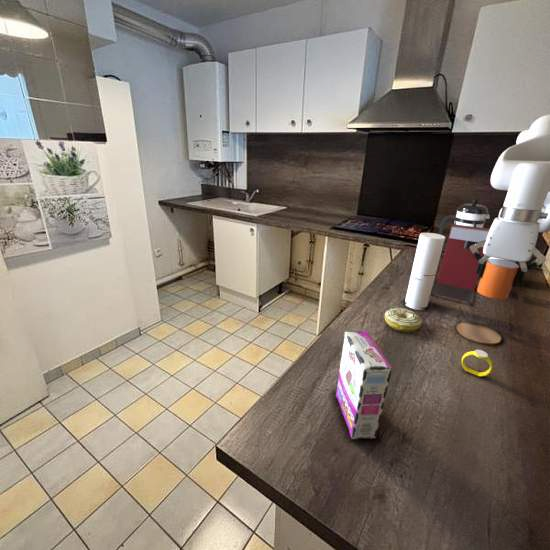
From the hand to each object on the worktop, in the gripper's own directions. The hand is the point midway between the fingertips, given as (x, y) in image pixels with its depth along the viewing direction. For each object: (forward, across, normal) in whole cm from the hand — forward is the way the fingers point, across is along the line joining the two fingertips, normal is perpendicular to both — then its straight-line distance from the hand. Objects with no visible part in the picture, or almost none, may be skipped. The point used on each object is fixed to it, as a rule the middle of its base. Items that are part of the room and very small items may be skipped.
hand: (496, 279), depth 79 cm
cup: (+4, 0, 0) cm, 4 cm away
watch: (+18, 0, +21) cm, 27 cm away
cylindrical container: (+18, +19, -8) cm, 27 cm away
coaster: (+18, 0, 0) cm, 18 cm away
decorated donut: (+18, +20, +9) cm, 28 cm away
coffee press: (+18, +13, -74) cm, 77 cm away
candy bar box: (+18, +19, +50) cm, 56 cm away
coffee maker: (+18, +9, -29) cm, 35 cm away
